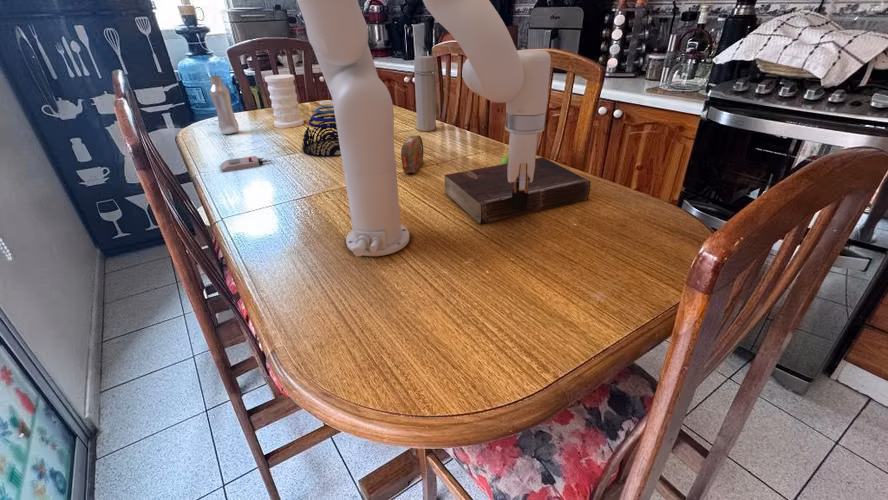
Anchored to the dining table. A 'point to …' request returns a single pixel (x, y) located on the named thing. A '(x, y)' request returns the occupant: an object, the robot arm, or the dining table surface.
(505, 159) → the grapes
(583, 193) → the hardback book
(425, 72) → the water bottle
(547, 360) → the dining table surface
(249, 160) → the moisture meter
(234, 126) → the plastic bottle
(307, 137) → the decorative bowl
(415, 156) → the tin
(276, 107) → the decorative container
